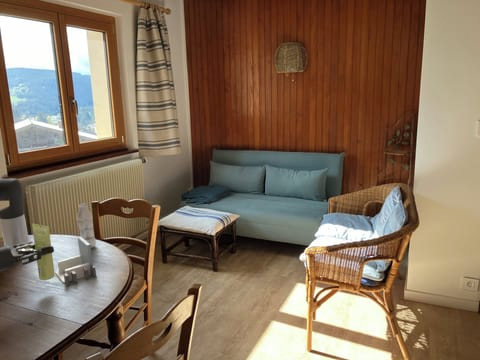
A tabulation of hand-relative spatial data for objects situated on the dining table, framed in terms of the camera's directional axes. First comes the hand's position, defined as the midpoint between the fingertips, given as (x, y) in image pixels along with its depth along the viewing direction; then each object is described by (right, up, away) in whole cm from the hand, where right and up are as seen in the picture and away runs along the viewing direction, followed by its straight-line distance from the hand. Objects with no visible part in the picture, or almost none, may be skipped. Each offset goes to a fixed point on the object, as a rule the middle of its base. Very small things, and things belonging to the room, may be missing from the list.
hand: (50, 246), depth 135 cm
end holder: (+2, -13, +15) cm, 20 cm away
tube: (-2, -11, +1) cm, 11 cm away
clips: (+6, -14, +9) cm, 18 cm away
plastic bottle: (-2, -7, +38) cm, 39 cm away
